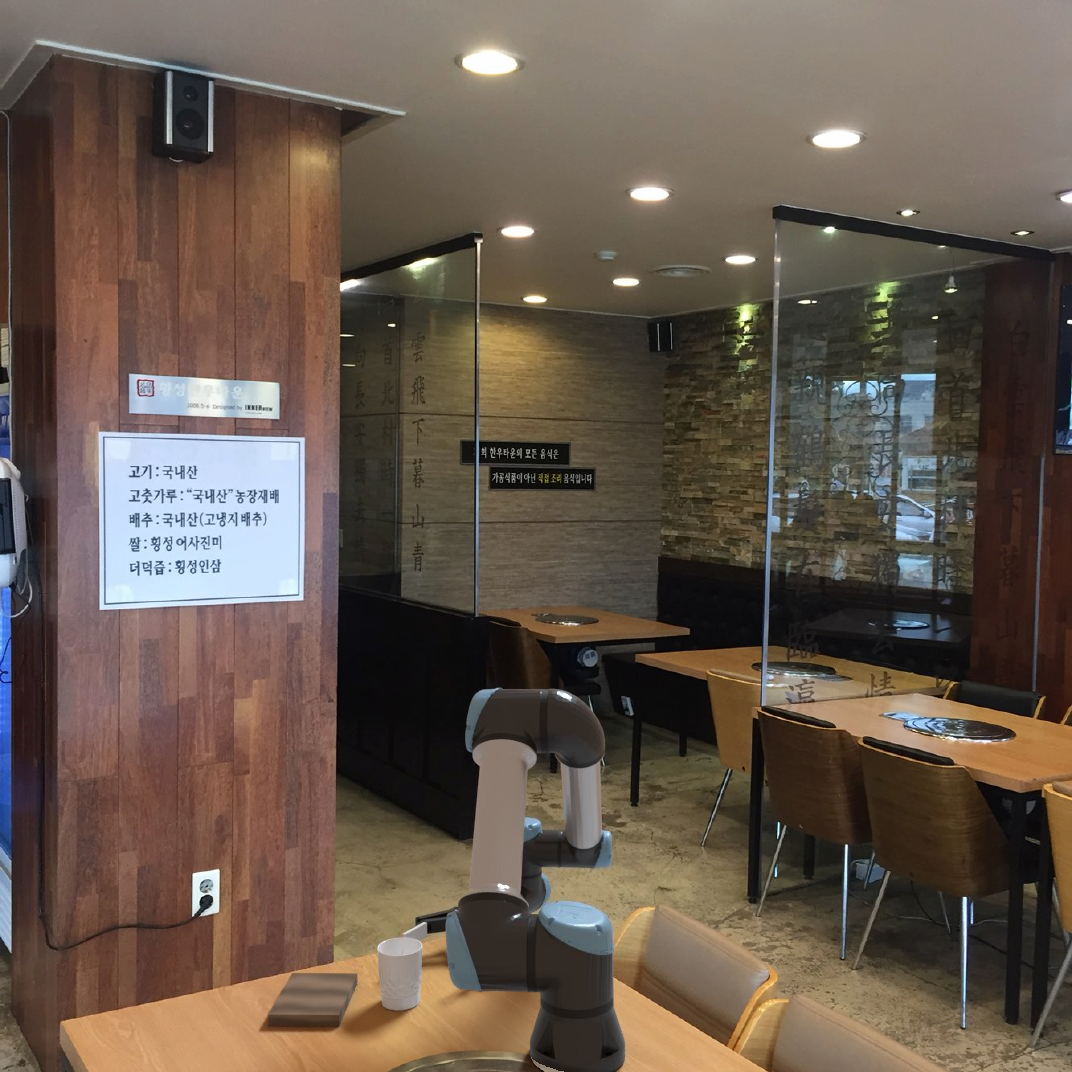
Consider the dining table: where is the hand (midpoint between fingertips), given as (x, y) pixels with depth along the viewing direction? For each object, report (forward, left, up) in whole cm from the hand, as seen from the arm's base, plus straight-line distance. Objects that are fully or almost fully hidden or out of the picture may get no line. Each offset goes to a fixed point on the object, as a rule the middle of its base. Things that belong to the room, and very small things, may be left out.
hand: (433, 948), depth 201 cm
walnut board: (-9, +20, -6) cm, 23 cm away
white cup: (-8, +5, -6) cm, 11 cm away
